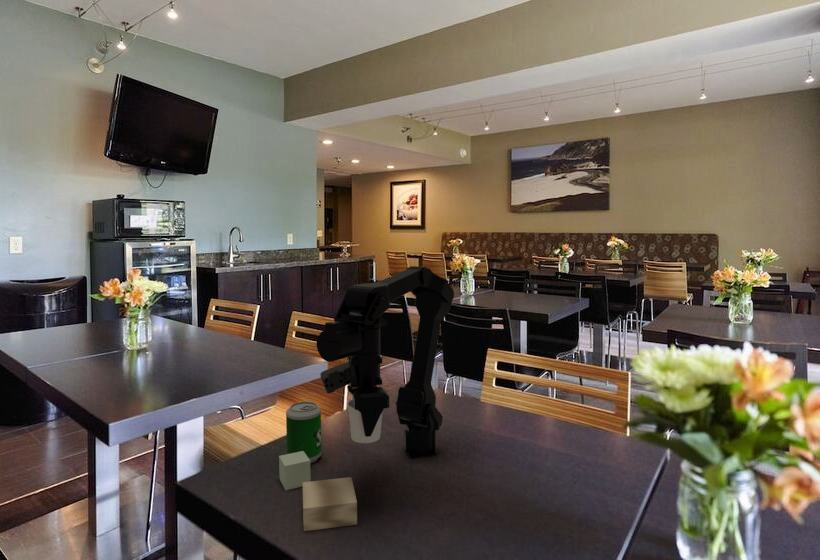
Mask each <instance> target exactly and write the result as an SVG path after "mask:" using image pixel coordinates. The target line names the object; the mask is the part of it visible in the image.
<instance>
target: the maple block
mask: <svg viewBox="0 0 820 560" xmlns="http://www.w3.org/2000/svg"><path fill="white" fill-rule="evenodd" d="M302 510H303V511H302V512H303V513H302V514H303V519H302V521H303V532H308V531H316V530H317V531H318V530H324V529H331V528H332V529H333V528H339V527H341V528H342V527H349V526H356V525H358V501H357V495H356V491H355V487H354V482H353V478H352V476H351V477H340V478H338V477H337V478H331V479H329V478H328V479H321V480H313V481H310V482H303V486H302Z"/></svg>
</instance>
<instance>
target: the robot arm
mask: <svg viewBox="0 0 820 560" xmlns="http://www.w3.org/2000/svg"><path fill="white" fill-rule="evenodd" d="M409 293H411V294H412V295H413V296H414V298H415V303H414V305H415V308H416V311H417V313H418V317H419V321H418V326H417V327H418V328H417V332H416V333H417V334H416V340H415V345H414V351H413V355H412V356H413V358H412V362H411V369H410V374H409V375H410V376H409V380H408V381H407V383H406V384H405V385H404V386H400V387H399V388H398V392H397V393H398V394H397V399H396V402H395V405H396V408H395V410H396V414H397V417H398V418H397V419H398V421H399V425H404V426H405V430H403V449H404V450H405V452H406V454H407V455H408V457H409V458H410V459H412V458H413V459H414V458H423V457H424V458H425V457H432V456H439V455H438V453H439V452H438V451H437V450H436V431H439V430H440V427H441V426H442V424H443V419H444V417H443V415H442V414H441V412H440V411H439V410H438V409H437V407H436V404H437V403H436V401H437V396H436V393H435V392H434V389H433V386H432V380H433V372H434V367H435V362H436V356H437V348H438V343H439V336H440V330H441V324H442V321H443V319H444V318H445V317H446V316H447V315H448V313H450V311H451V307H452V303H453V301H454V298H455V292H454V288H453V287H452V286H451V285H450V283H449V282H448V281H447V280H446V279H444V278H443V277H441V276H439V275H438V274H436V273H434V272H433V270H432V269H430V268H429V267H427V266H419V265H418V266H416V265H411V266H409V267H406V269H404V270H402V271H399V272H397V273H396V274H393V275H391V276H389V277H387V278H384V279H382V280H380V281H377V282H370V283H366V282H365V283H358V284H353V285H350V286H349V287H348V288H347V289H346V293H345V294H344V297H343V298H342V301H341V303H340V306H339V307H338V310H337V312H336V314H335V316H334V318H333V321H329V322H325V323H324V330H323V329H322V331H320V333H319V335H318V336H317V337H318V338H317V340H316V350H317V352H318V354H319V356H320V357H321V358H322V359H323V360H324V361H326V362H328V363H329V362H330V363H332V362H336V361H338V360H339V361H340V360H343V359H345V358H347V362H344V363H340V364H338V365H336V366H333V367H330V368H328V369H325V370H323V371H321V372H320V379H321V382H322V384H323V387H324V389H325V391H326V394H332V393H334V392H335V391H336V390H339V389H342V388H344V387H346V388H347V391H348V392H349V393H350V394H351V395H352V400H353V402H352V404H353V407H354V409H355V410H358V411H359V412H360V413H361V417H362V423H363V428H364V433H365V436H366V437H369V436H371V435H372V433H373V430H374V428H375V426H376V424H377V422H378V420H379V417H380V415H381V413H382V414H383V412H382V411H384V409H388V408H390V395H389V394H388V392H387V391H386V390H385V389H384V388H383V386H382V385H383V378H382V377H381V365H383V358H382V356H381V327H382V326H387V324H388V321H387V320H386V319H384V318H383V316H382V315H383V314H384V313H385V312H387V311H388V310H389V309H390V308H391V304H392V302H393V301H395V300H397V299H399V298H401V297H403V296H404V295H406V294H409Z"/></svg>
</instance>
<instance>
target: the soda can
mask: <svg viewBox="0 0 820 560" xmlns="http://www.w3.org/2000/svg"><path fill="white" fill-rule="evenodd" d="M285 419H286V420H285V423H286V425H285V427H286V454H291V453H296V452H300V451H304V453H305V454H306V455H307V457H308V458H309V460H310V464H312V463H315V462H316V461H317V460H318V458H320V457H321V455H322V454H323V453H322V450H323V449H322V446H323V445H322V409H321V407H320V406H318V405H317V403H315V402H313V401H312V402H311V401H299V402H295V403H293V404H291V405H290V406H289V407H288V408H287V410H286V411H285Z"/></svg>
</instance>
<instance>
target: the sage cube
mask: <svg viewBox="0 0 820 560" xmlns="http://www.w3.org/2000/svg"><path fill="white" fill-rule="evenodd" d="M278 464H279V466H278V468H279V470H278V471H279V473H278V474H279V480H280V482H281V485H282V486H283V488H284V490H285V491H288V490H289V491H290V490H293V489H297V488H301V487H302V488H303V482H310V481H311V480H312V478H311V476H312V475H311V463H310V460H309V458H308V457H307V455H306V454H305V453H304V451H300V452H296V453H291V454H287V453H286V454H282V455H279V456H278Z"/></svg>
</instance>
